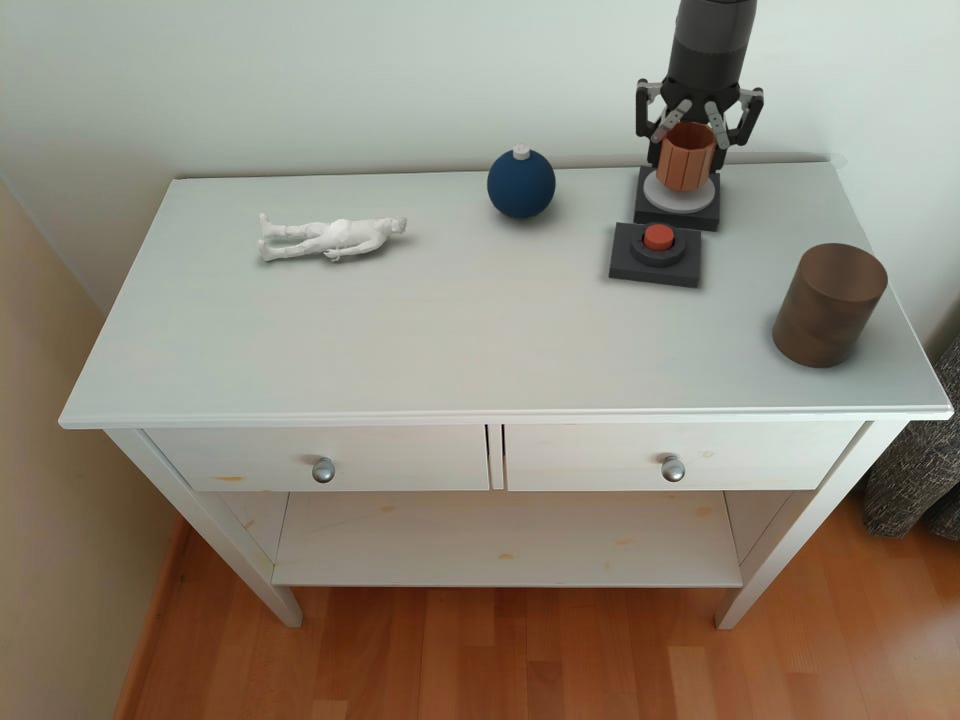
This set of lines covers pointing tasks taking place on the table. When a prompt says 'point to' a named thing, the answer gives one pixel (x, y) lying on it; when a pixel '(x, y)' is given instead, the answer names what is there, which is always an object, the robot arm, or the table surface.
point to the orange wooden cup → (686, 156)
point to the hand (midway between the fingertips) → (683, 166)
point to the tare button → (658, 237)
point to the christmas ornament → (521, 183)
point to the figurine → (330, 237)
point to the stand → (828, 304)
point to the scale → (677, 203)
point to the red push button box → (656, 256)
